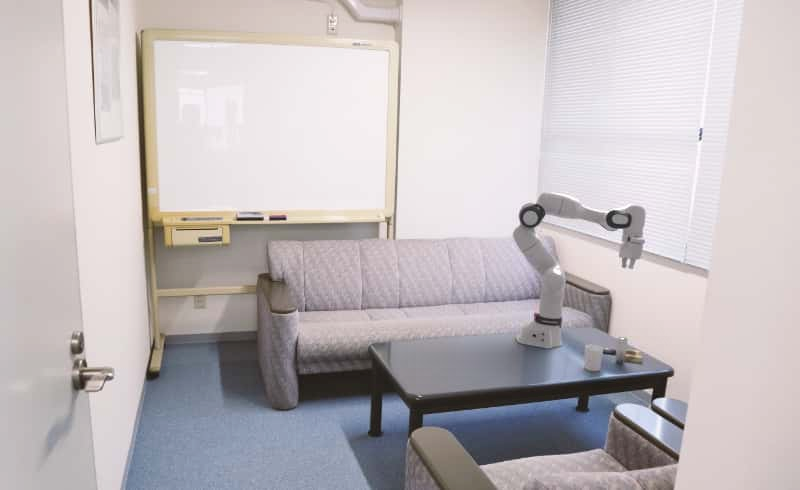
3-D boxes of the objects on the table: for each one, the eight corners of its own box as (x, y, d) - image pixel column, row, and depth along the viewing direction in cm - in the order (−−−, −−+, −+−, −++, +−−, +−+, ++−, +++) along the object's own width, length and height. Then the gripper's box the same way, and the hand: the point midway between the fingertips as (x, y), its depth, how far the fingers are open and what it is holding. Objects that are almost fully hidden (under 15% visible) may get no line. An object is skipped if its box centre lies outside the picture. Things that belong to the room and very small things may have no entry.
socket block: (619, 360, 283) (619, 354, 283) (617, 352, 293) (617, 347, 292) (641, 362, 281) (642, 357, 281) (639, 355, 290) (639, 350, 290)
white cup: (602, 372, 267) (604, 351, 265) (583, 370, 268) (585, 349, 266) (600, 366, 274) (602, 345, 272) (582, 364, 276) (584, 343, 274)
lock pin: (598, 353, 292) (598, 348, 291) (597, 351, 294) (598, 346, 294) (615, 355, 290) (616, 350, 290) (615, 353, 292) (615, 348, 292)
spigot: (615, 364, 278) (618, 339, 276) (614, 360, 282) (617, 336, 280) (624, 365, 277) (627, 340, 275) (624, 362, 281) (627, 337, 279)
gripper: (618, 238, 295) (613, 266, 295) (632, 238, 275) (627, 268, 275) (631, 240, 295) (626, 268, 295) (646, 240, 274) (641, 270, 275)
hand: (627, 268), depth 285 cm, fingers open, 8 cm apart
